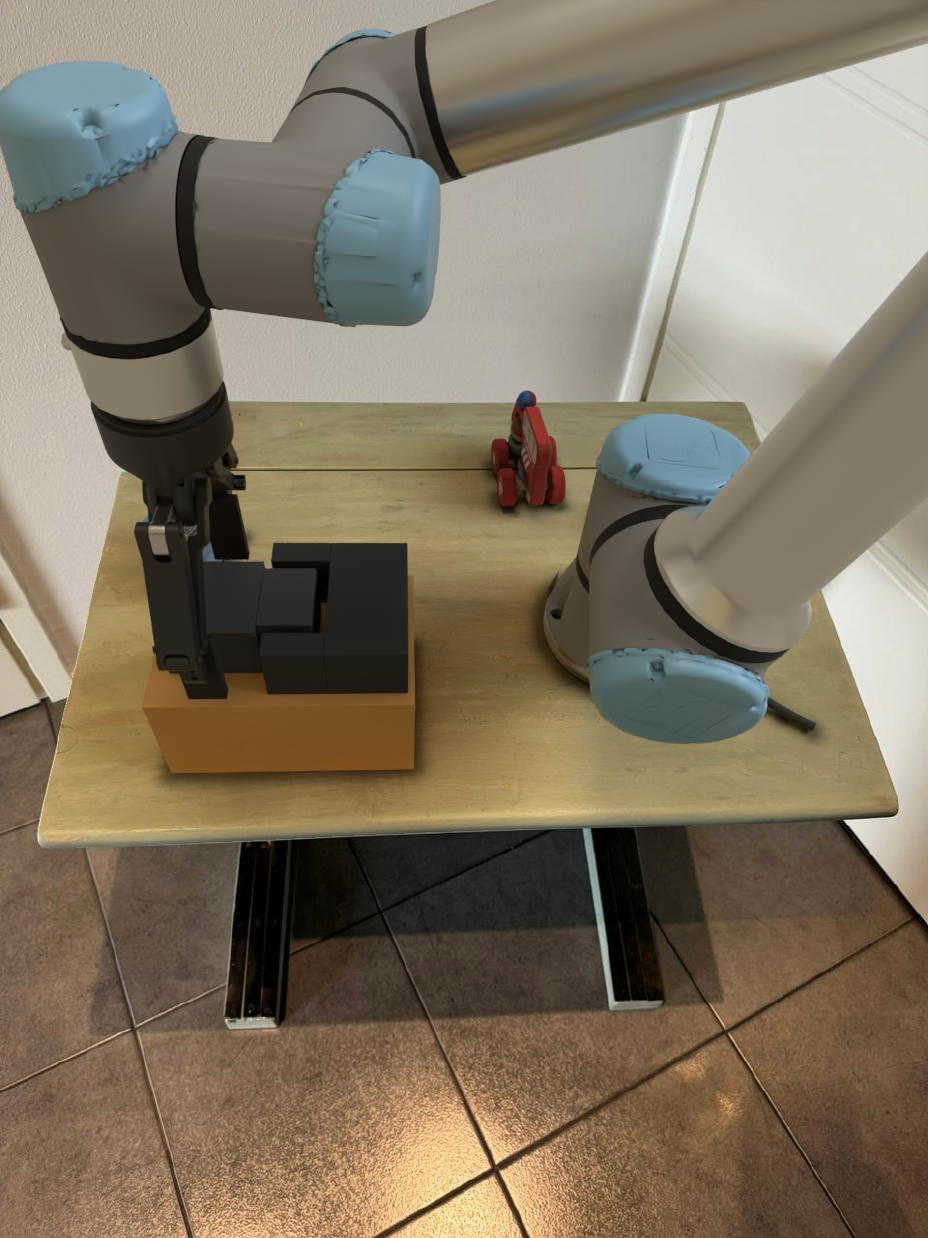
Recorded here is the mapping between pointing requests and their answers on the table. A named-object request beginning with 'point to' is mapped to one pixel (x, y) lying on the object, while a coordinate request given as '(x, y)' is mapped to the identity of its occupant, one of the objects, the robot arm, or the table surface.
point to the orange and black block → (310, 679)
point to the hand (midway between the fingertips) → (221, 621)
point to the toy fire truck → (528, 458)
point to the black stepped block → (256, 608)
